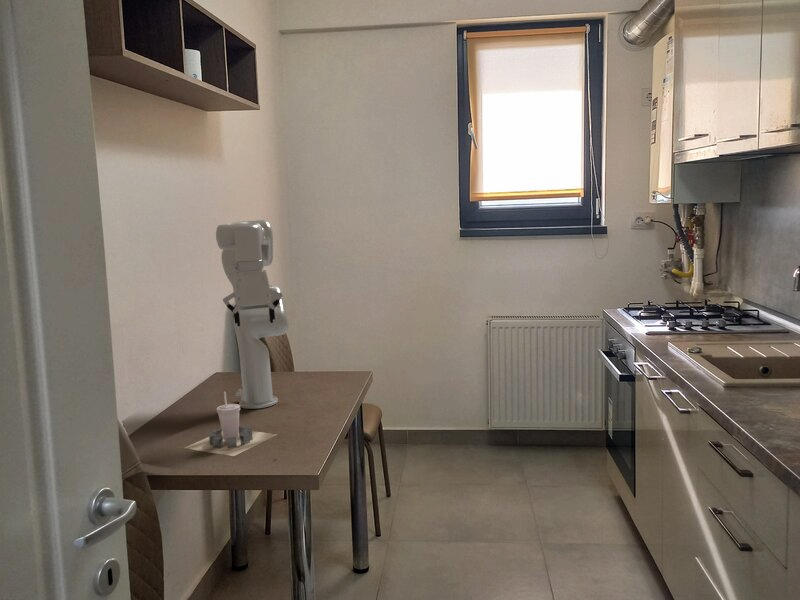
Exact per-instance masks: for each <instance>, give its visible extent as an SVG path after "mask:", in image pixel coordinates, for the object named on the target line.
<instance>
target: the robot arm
mask: <svg viewBox="0 0 800 600" xmlns="http://www.w3.org/2000/svg"><path fill="white" fill-rule="evenodd" d="M215 239H216V240H215V241H216V242H217V246H218V248H219V249H220V250H222V252H221V258H220V259H221V264H222V268H223V271H224V273H225V276H226V277H227V279H228V281H229V283H230V284H231V287H232V291H233V292H231V293H230V294H228V295H227V296H225V297H224V298H223V299H222V301H223V304H225V306H226V308H227V309H228V310H229V311H231V312H232V313H233V320H232V321H233V328H234V329H233V330H234V332H235V337H236V340H237V348H238V354H239V365H240V375H241V377H240V378H241V387H242V389H241V388H239V389H237V392H235V396H236V397H238V398H239V397H240V398H241V399H240V401H239V402H238V403H239V404H238V405H240V408H242V409H249V410H255V409H256V410H257V409H264V408H268V407H272V406H274V405H276V404H277V403H278V402H279V398H278V397H277V396H276V395H273V393H274V392H273V385H272V384H273V383H272V374H271V372H272V371H271V361H270V360H271V359H270V352H269V349H268V348H269V347H268V346H267V345H266V344H265V343H264V342H262V340H260V339H263V338H269V337H278V336H283V335H285V334H286V333H287V332H288V330H289V318H288V312H287V308H286V304H285V299H284V294H283V292H282V290H281V288H280V287H279V286H277V285H272V284H271V285H270V282H269V276H268V273H267V270H266V269H264V267H267V266H270V265H271V264H273V260H274V233H273V228H272V226H271V224H270V222H268V220H264V219H262V220H261V219H259V220H247V221H246V220H243V221H237V222H235V221H234V222H231V223H225V224H219V225H218V226H217V227H216V229H215ZM233 299H234V303H235V305H232V304H231V303H230V300H233Z"/></svg>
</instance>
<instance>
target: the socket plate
mask: <svg viewBox="0 0 800 600" xmlns="http://www.w3.org/2000/svg"><path fill="white" fill-rule="evenodd" d="M277 436H278V434H277V433H276V434H275V433H270V432H263V431H261V432H260V431H256V430H255V431H254V430H252V437H253V440H250V442H249V443H247V444H245V445H241V441H240V436H239V439H238V441H237V442H236V443H237V447H233V448H228V446H227V443H225V441H224V436H223V432H222V440H223V447H222V448H214V447H213V445H211V446H210V439H209V436H208V437H205V438H203V439H201V440H199V441H196V442H194V443H191V444H189V445H188V446H185V447H184V449H186V450H190V451H191V450H192V451H198V452H206V453H210V454H212V453H213V454H216V455H217V454H218V455H223V456H229V457H236V456H237V455H239V454H241V453H243V452H246V451H247V450H249V449H252V448H254V447H256V446H258V445H259V444H262V443H265V442H266V441H268V440H270V439H272V438H274V437H277Z"/></svg>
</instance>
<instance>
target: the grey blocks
mask: <svg viewBox="0 0 800 600" xmlns="http://www.w3.org/2000/svg"><path fill="white" fill-rule="evenodd" d="M252 431H253V430H252V428H249V426H245V425H239V436H240V441H241V445H245V444H247V443H249V442H250V440H253V437H252ZM208 437H209V439H210V446H211V445H213V447H214V448H222V447H223V440H222V428H221V429H220V428H218V429H214V430H213V431H211V433H209V434H208ZM227 446H228V448H233V447H237V443H236V437H230V438H227Z"/></svg>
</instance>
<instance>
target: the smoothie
mask: <svg viewBox="0 0 800 600" xmlns="http://www.w3.org/2000/svg"><path fill="white" fill-rule="evenodd" d="M223 397H224V398H223V399H224V404H223V405H219V406H217V407H216V413H217V414H218V415H217V416H218V419H219V424H220V427H221V431H222V432H223V436H224V441H225V443H227V438H230V437H236V442H237V441H238V439H239V427H240V411H241V407H240V405H239V404H237V403H228V402H227V392H226V391H223Z"/></svg>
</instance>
